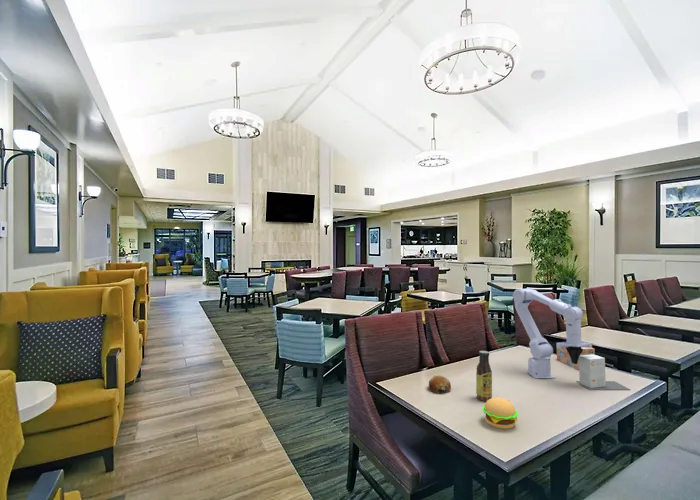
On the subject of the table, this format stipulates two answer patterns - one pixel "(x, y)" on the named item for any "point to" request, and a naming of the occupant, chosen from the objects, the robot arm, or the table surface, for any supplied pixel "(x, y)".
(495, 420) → the hamburger
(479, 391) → the sauce bottle
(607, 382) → the mat
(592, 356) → the small box
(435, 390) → the bread roll
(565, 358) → the stack of blocks
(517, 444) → the table surface
